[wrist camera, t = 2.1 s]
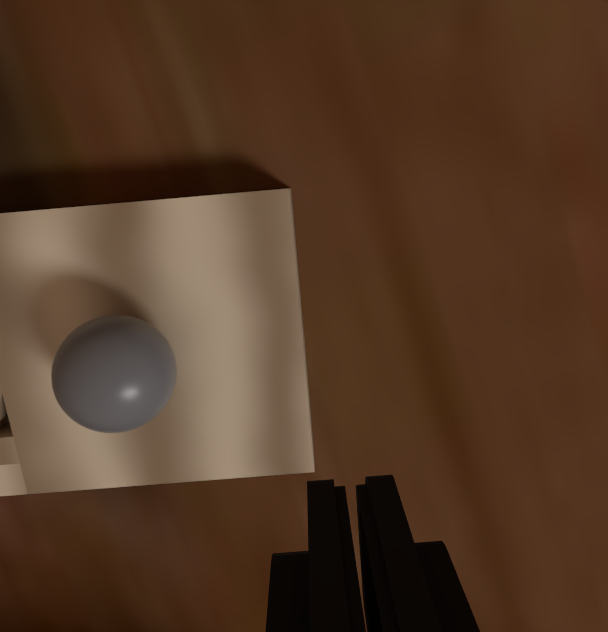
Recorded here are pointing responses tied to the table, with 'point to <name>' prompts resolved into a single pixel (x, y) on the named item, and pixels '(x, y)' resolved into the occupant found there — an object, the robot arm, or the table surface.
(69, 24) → the table surface
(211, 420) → the beige flat board
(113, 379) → the ball
